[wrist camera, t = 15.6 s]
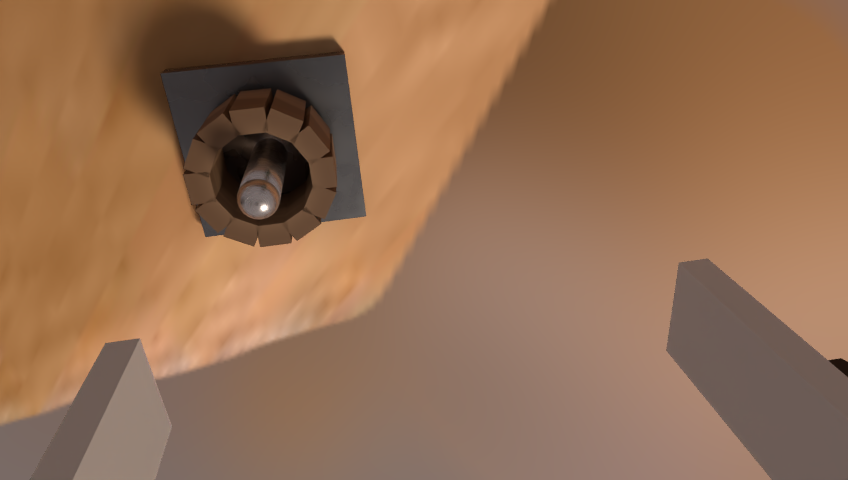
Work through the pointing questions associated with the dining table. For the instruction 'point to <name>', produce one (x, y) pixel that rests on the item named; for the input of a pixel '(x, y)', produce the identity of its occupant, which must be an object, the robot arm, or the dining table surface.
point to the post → (264, 153)
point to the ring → (220, 188)
